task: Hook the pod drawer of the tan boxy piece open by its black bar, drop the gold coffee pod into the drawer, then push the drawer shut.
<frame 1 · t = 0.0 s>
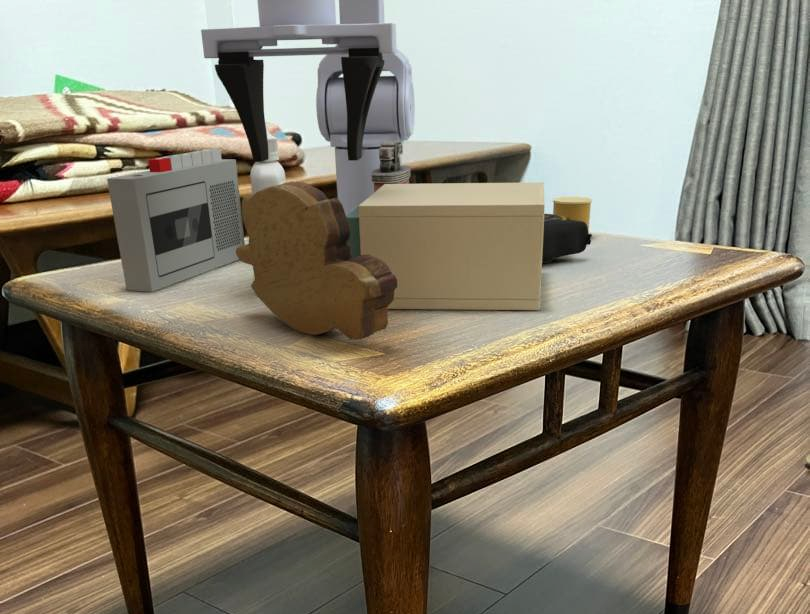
hand: (307, 160, 70), 10 cm above the table, tool pointing down, fingers open, 7 cm apart
cassette player: (190, 274, 82), on the table
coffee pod: (569, 237, 93), on the table
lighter: (393, 250, 90), on the table
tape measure: (545, 262, 83), on the table
eye dropper bottle: (275, 254, 90), on the table
tan boxy piece: (456, 290, 73), on the table
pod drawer: (408, 243, 71), point 4 cm above the table, slide at 0.0 cm
wooden carving: (316, 333, 63), on the table
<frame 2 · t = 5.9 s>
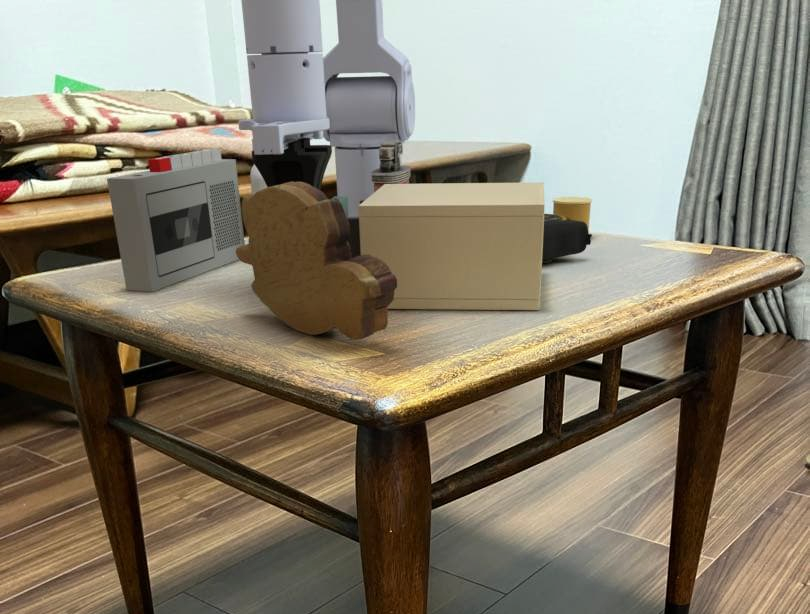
hand: (299, 242, 73), 4 cm above the table, tool pointing down, fingers closed, pressing on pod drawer
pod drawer: (369, 243, 72), point 4 cm above the table, slide at 3.2 cm, touching gripper
everything else where it was.
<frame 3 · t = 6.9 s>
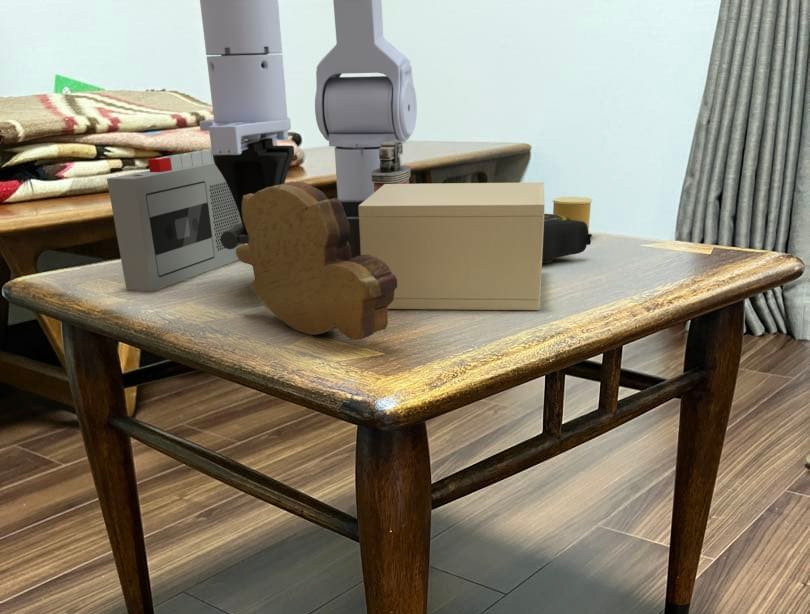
hand: (263, 242, 73), 4 cm above the table, tool pointing down, fingers closed, pressing on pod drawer
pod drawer: (332, 243, 72), point 4 cm above the table, slide at 6.3 cm, touching gripper
everything else where it was.
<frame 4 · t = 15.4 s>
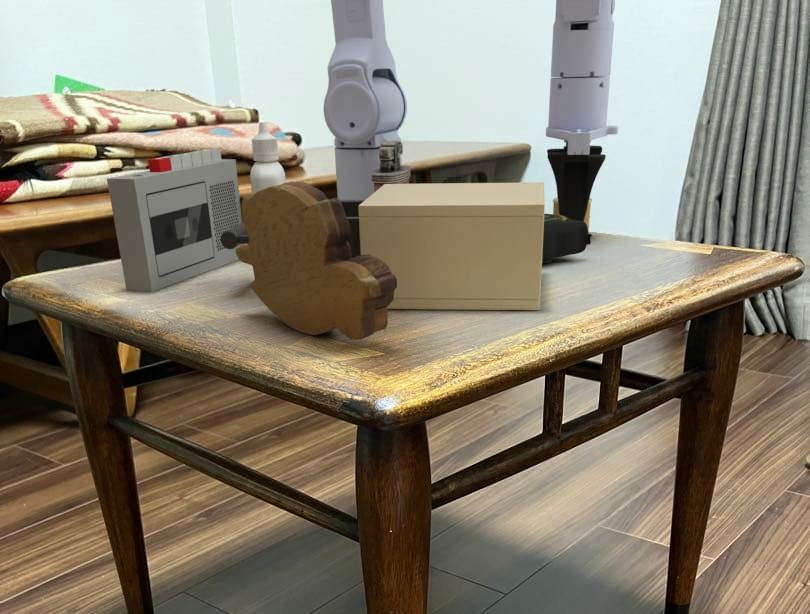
hand: (570, 223, 92), 1 cm above the table, tool pointing down, fingers closed on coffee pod, 4 cm apart
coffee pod: (569, 237, 93), on the table, touching gripper
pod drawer: (332, 243, 72), point 4 cm above the table, slide at 6.3 cm
everything else where it was.
when the fingers open (5 cm above the table, at t = 22.0 s): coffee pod stays where it is, resting on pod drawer.
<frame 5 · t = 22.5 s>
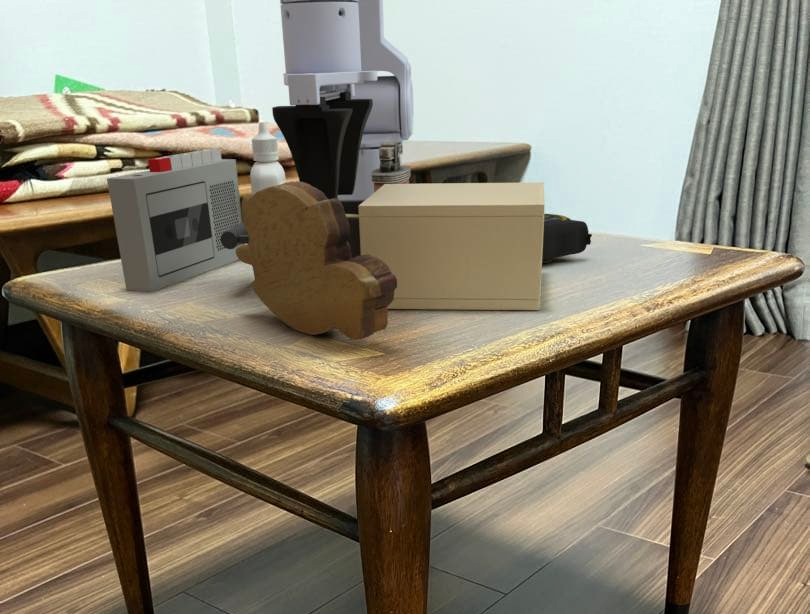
hand: (331, 201, 71), 7 cm above the table, tool pointing down, fingers open, 7 cm apart
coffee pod: (341, 265, 73), point 2 cm above the table, touching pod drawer
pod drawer: (332, 243, 72), point 4 cm above the table, slide at 6.3 cm, touching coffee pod
everything else where it was.
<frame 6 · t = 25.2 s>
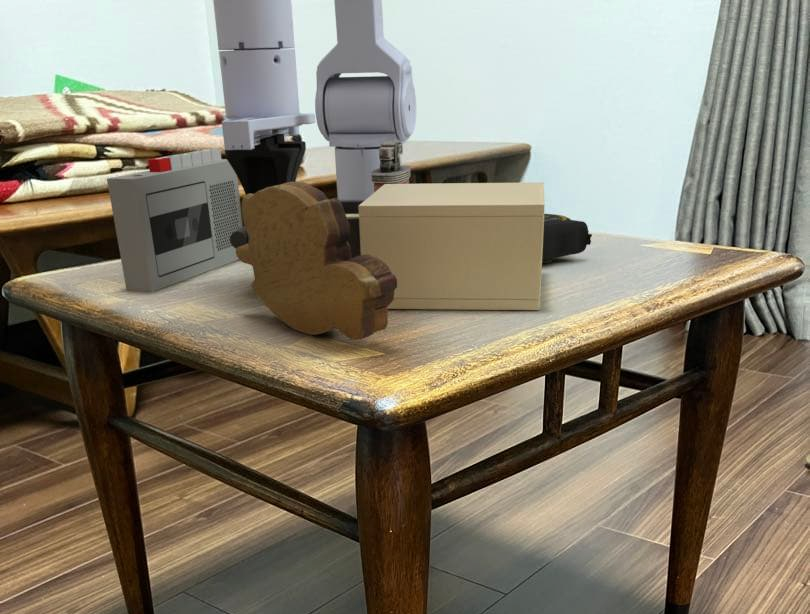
hand: (274, 238, 73), 4 cm above the table, tool pointing down, fingers closed, pressing on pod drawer
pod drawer: (341, 243, 72), point 4 cm above the table, slide at 5.5 cm, touching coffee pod, gripper
everything else where it was.
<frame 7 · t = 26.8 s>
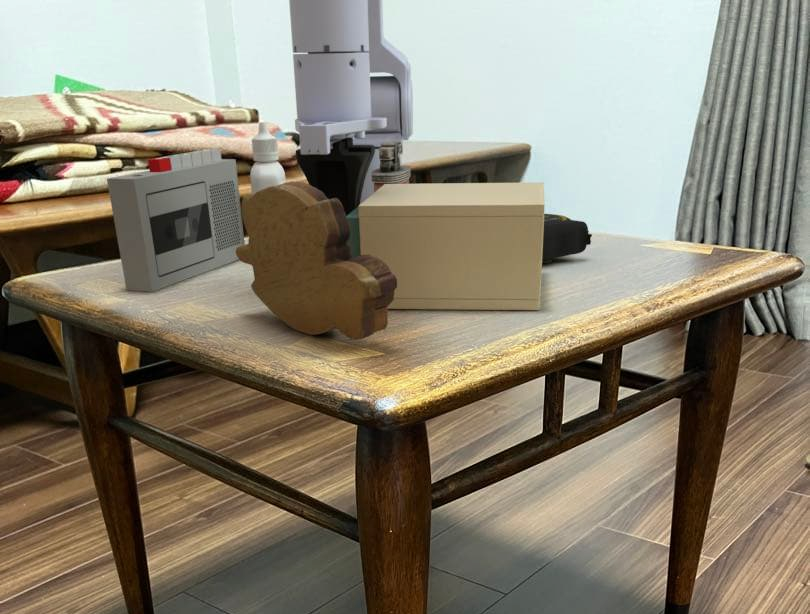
hand: (340, 242, 72), 4 cm above the table, tool pointing down, fingers closed, pressing on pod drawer
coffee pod: (416, 265, 72), point 2 cm above the table, touching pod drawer
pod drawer: (408, 243, 71), point 4 cm above the table, slide at 0.0 cm, touching tan boxy piece, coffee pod, gripper
everything else where it was.
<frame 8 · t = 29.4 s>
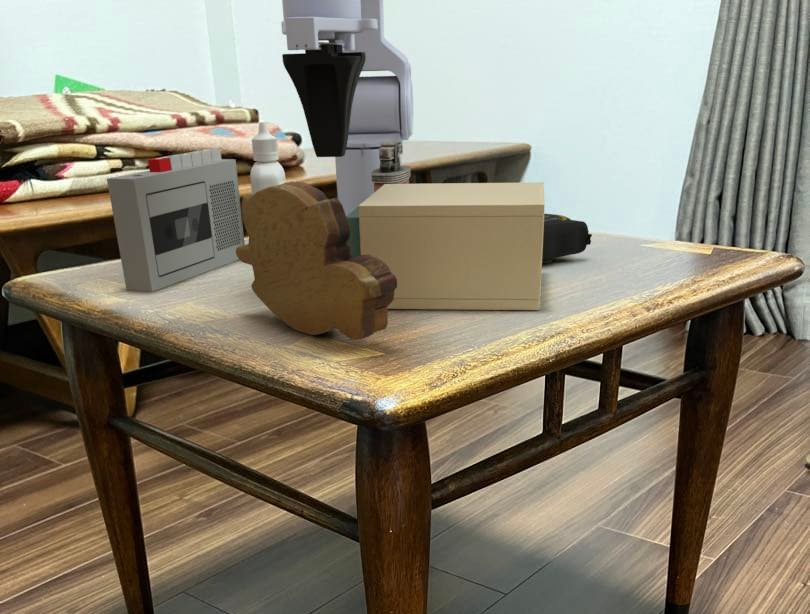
hand: (330, 156, 69), 10 cm above the table, tool pointing down, fingers closed
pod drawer: (408, 243, 71), point 4 cm above the table, slide at 0.0 cm, touching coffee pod
everything else where it was.
at the end: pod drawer pulled out 6.3 cm at the most during the clip, back to where it started at the end; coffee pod inside the target area in the tan boxy piece (3.3 cm from its centre), point 2.0 cm above the tan boxy piece's base; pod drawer slide at 0.0 cm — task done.
